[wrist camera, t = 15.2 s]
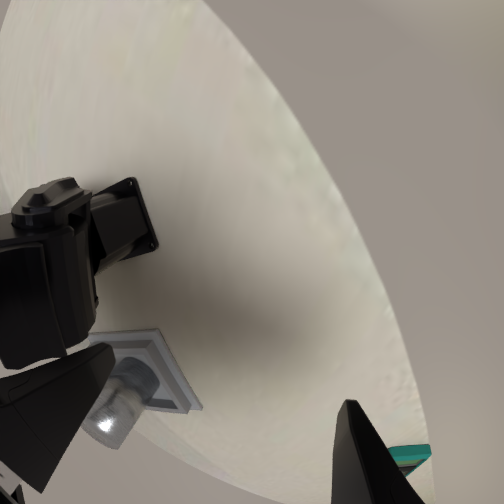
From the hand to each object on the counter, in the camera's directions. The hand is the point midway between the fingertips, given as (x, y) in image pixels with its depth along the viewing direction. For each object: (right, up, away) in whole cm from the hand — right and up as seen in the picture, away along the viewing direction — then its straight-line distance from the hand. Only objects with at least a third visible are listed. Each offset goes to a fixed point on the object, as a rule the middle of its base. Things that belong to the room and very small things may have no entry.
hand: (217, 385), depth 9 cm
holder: (-12, -10, +20) cm, 26 cm away
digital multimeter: (+23, -29, +20) cm, 42 cm away
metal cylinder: (-12, -10, +20) cm, 25 cm away
